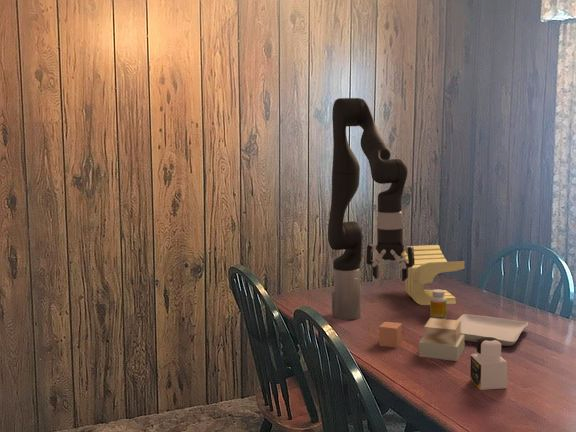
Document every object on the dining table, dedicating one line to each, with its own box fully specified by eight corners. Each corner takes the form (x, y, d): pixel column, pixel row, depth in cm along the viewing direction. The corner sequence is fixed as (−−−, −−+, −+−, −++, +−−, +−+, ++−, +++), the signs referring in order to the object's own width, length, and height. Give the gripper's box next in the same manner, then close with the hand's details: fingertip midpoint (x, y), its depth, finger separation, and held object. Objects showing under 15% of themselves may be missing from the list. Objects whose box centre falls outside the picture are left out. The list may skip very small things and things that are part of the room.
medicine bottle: (470, 379, 174) (470, 335, 172) (496, 377, 174) (497, 334, 173) (480, 390, 167) (480, 344, 165) (507, 388, 167) (508, 343, 166)
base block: (418, 357, 192) (418, 342, 191) (427, 345, 202) (427, 331, 201) (457, 362, 187) (457, 347, 186) (464, 349, 197) (464, 335, 196)
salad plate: (529, 331, 212) (529, 320, 211) (514, 352, 194) (515, 340, 193) (463, 322, 222) (463, 312, 222) (443, 341, 204) (444, 330, 204)
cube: (379, 345, 202) (379, 326, 201) (384, 340, 206) (384, 321, 206) (397, 347, 199) (396, 328, 198) (401, 342, 204) (401, 323, 203)
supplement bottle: (446, 321, 223) (446, 293, 222) (430, 320, 224) (430, 292, 223) (446, 316, 228) (446, 288, 227) (430, 315, 229) (430, 288, 228)
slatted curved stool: (399, 290, 264) (399, 246, 261) (438, 288, 265) (438, 244, 262) (419, 312, 234) (419, 262, 231) (464, 309, 235) (464, 260, 233)
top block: (424, 341, 191) (424, 326, 191) (430, 332, 200) (430, 317, 199) (455, 345, 188) (455, 329, 187) (460, 335, 196) (460, 320, 195)
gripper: (363, 227, 197) (363, 280, 200) (410, 229, 191) (410, 284, 194) (370, 223, 204) (371, 275, 206) (416, 225, 198) (416, 278, 200)
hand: (390, 279), depth 200 cm, fingers open, 8 cm apart
